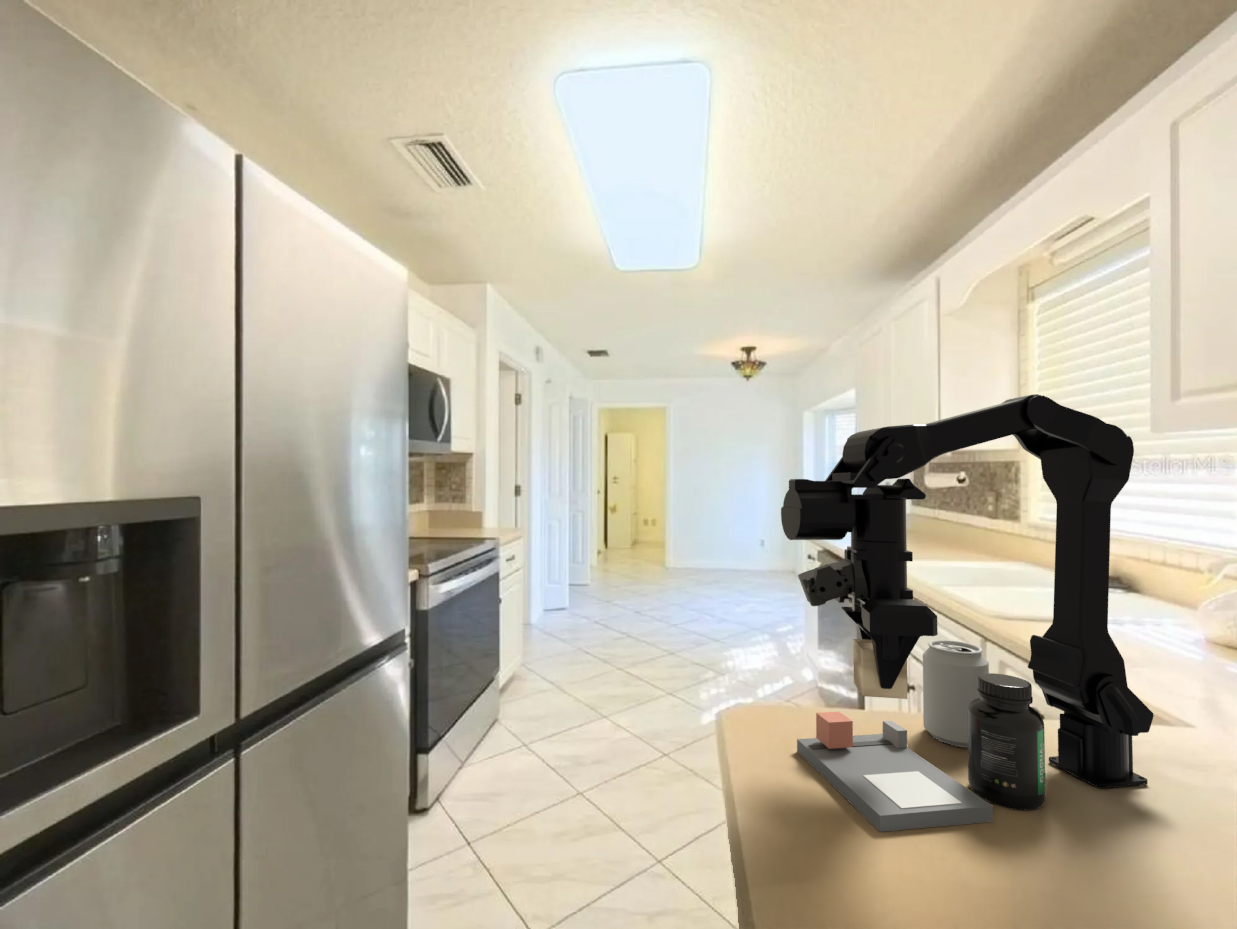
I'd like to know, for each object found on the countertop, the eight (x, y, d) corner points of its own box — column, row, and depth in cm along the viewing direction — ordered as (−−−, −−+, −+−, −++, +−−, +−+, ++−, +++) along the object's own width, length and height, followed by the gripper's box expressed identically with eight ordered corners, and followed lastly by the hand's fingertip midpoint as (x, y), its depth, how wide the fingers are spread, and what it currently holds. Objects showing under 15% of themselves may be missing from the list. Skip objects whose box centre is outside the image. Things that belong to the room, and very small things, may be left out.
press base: (886, 745, 74) (886, 717, 74) (993, 821, 57) (992, 784, 57) (797, 751, 72) (797, 722, 72) (880, 831, 55) (879, 793, 55)
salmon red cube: (839, 736, 72) (839, 711, 72) (852, 747, 69) (852, 721, 69) (816, 737, 72) (816, 712, 72) (828, 748, 69) (828, 722, 69)
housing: (853, 682, 68) (853, 638, 68) (895, 685, 67) (894, 640, 68) (862, 696, 64) (862, 649, 64) (907, 699, 63) (906, 651, 63)
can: (1000, 753, 72) (998, 654, 73) (933, 747, 74) (932, 650, 74) (976, 728, 80) (975, 639, 80) (916, 723, 81) (915, 635, 82)
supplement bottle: (1062, 810, 59) (1060, 689, 60) (1001, 814, 59) (999, 691, 59) (1010, 777, 66) (1008, 669, 67) (953, 780, 65) (952, 670, 66)
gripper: (793, 532, 77) (794, 653, 76) (817, 546, 58) (818, 706, 58) (884, 534, 75) (885, 658, 74) (938, 549, 56) (940, 714, 56)
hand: (879, 680), depth 66 cm, fingers closed on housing, 4 cm apart
